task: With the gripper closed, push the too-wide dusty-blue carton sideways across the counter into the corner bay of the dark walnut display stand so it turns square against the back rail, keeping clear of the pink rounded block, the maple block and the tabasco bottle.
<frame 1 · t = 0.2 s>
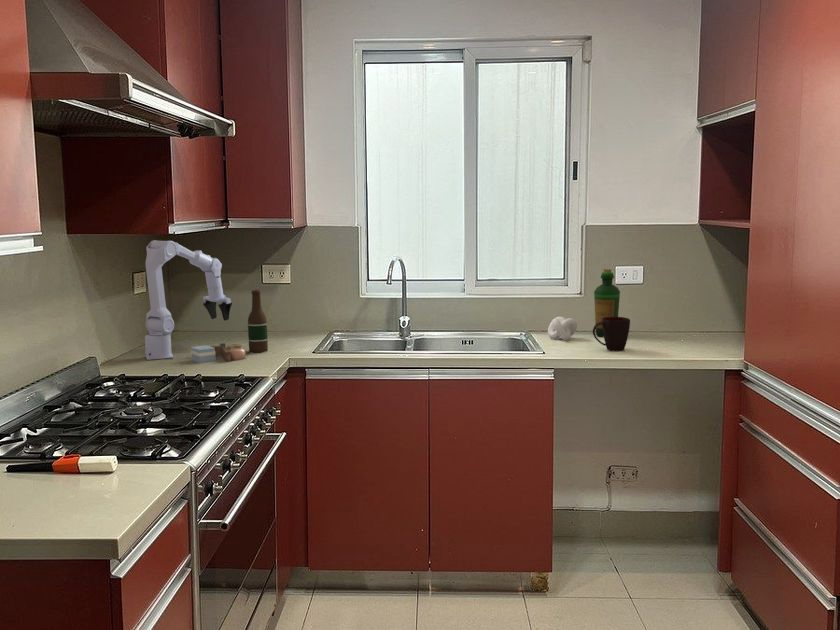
hand: (220, 319, 330), 11 cm above the countertop, tool pointing down, fingers open, 7 cm apart
beer bottle: (258, 351, 315), on the countertop
pink rounded block: (237, 359, 301), on the countertop
pretzel: (560, 339, 334), on the countertop
bottle: (606, 336, 339), on the countertop
display stand: (214, 358, 301), on the countertop
cup: (610, 350, 308), on the countertop
carton: (203, 360, 298), on the countertop
maple block: (234, 355, 307), on the countertop
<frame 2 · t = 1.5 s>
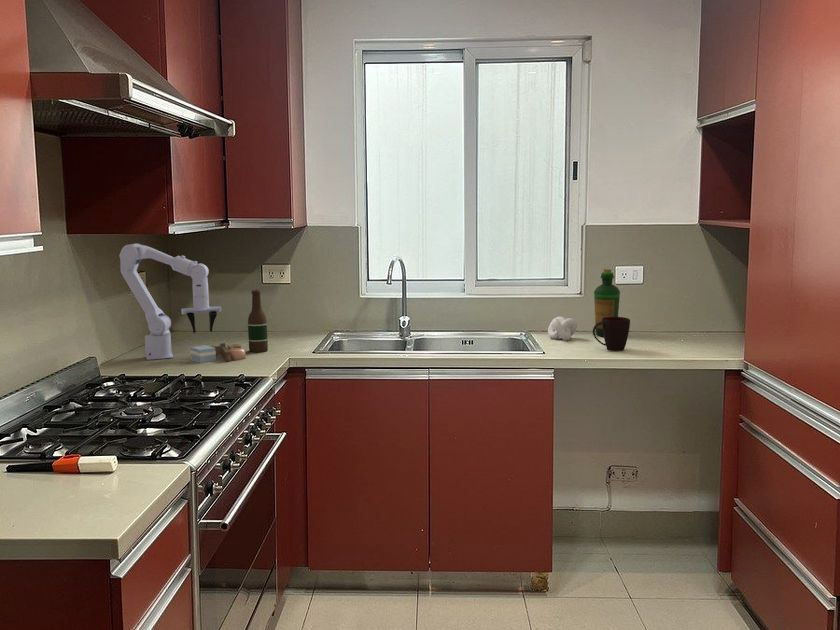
hand: (202, 331, 305), 9 cm above the countertop, tool pointing down, fingers open, 5 cm apart
nothing on the countertop moved.
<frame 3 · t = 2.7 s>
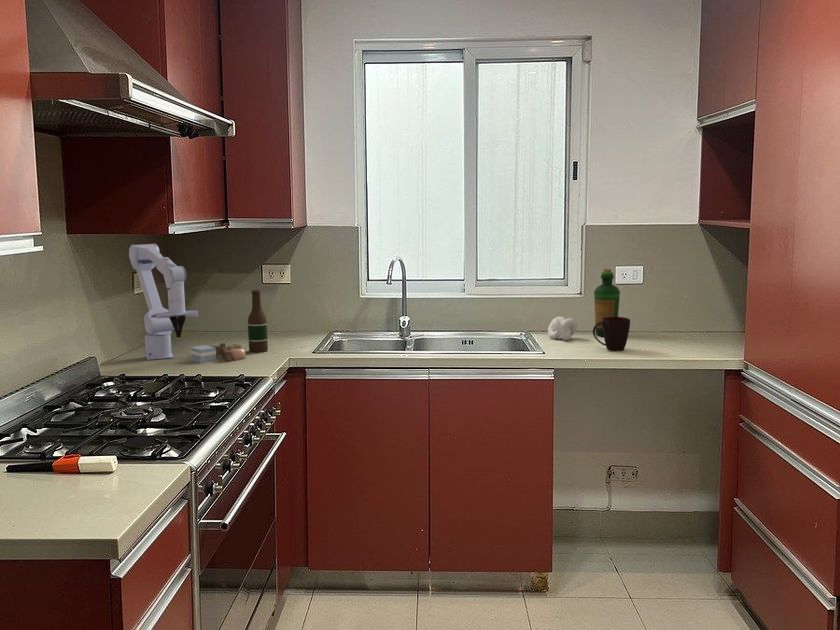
hand: (178, 337, 294), 9 cm above the countertop, tool pointing down, fingers closed
nothing on the countertop moved.
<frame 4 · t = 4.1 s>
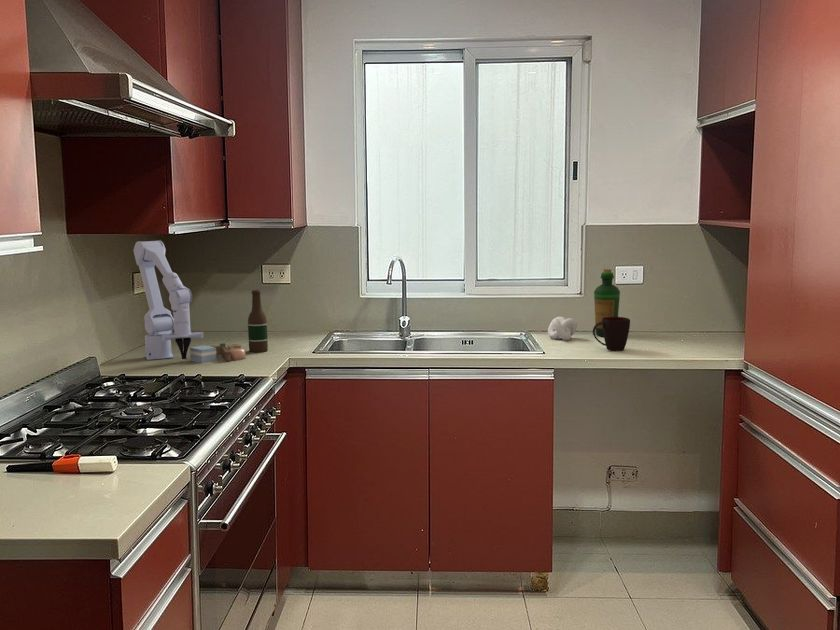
hand: (184, 358, 296), 1 cm above the countertop, tool pointing down, fingers closed
nothing on the countertop moved.
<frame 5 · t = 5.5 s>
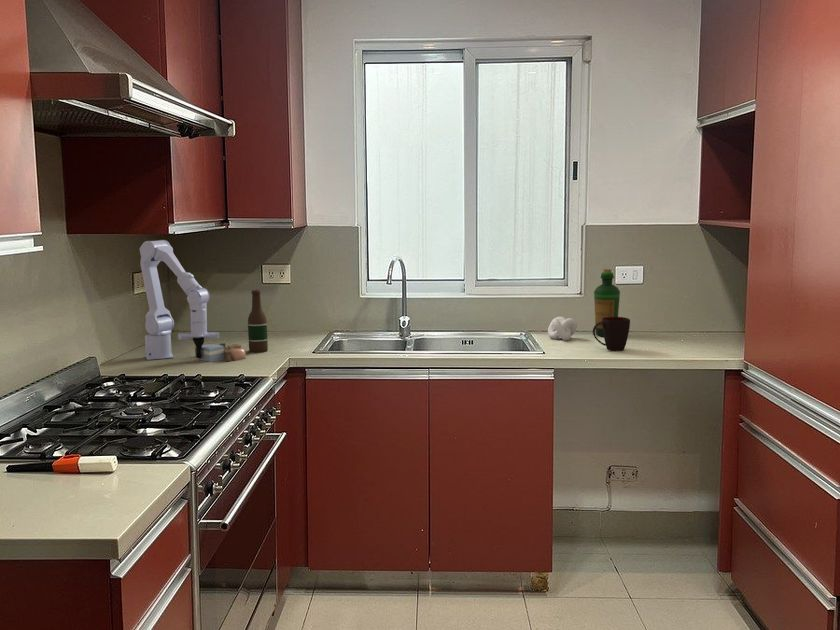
hand: (199, 357, 298), 1 cm above the countertop, tool pointing down, fingers closed, pressing on carton
carton: (211, 359, 300), on the countertop, touching display stand, gripper
everything else where it was.
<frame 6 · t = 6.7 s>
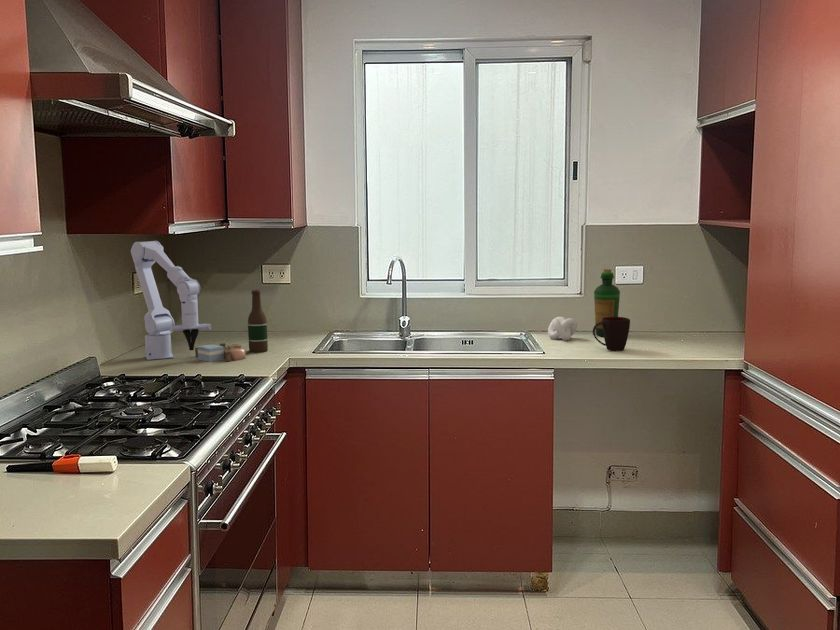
hand: (191, 349, 296), 4 cm above the countertop, tool pointing down, fingers closed
carton: (211, 359, 300), on the countertop
everything else where it was.
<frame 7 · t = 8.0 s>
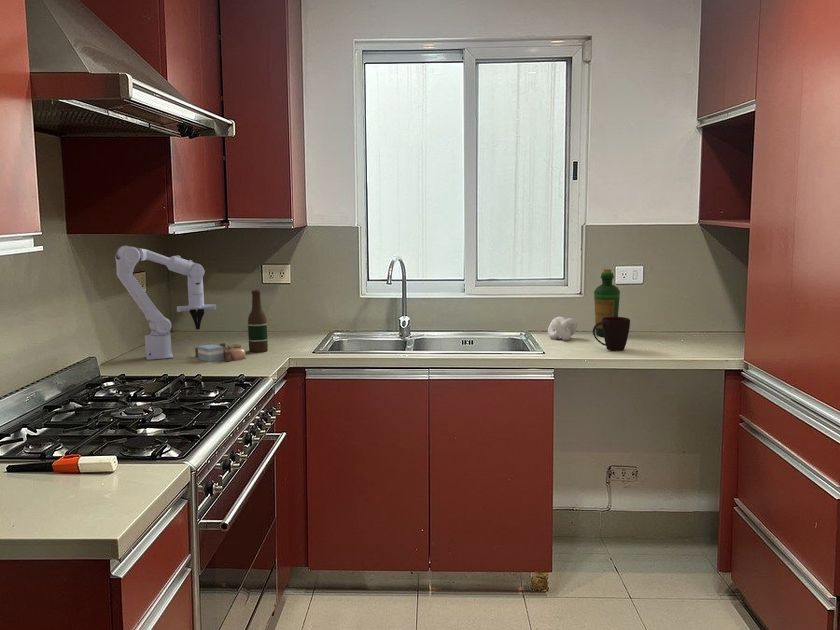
hand: (197, 329, 312), 9 cm above the countertop, tool pointing down, fingers closed
nothing on the countertop moved.
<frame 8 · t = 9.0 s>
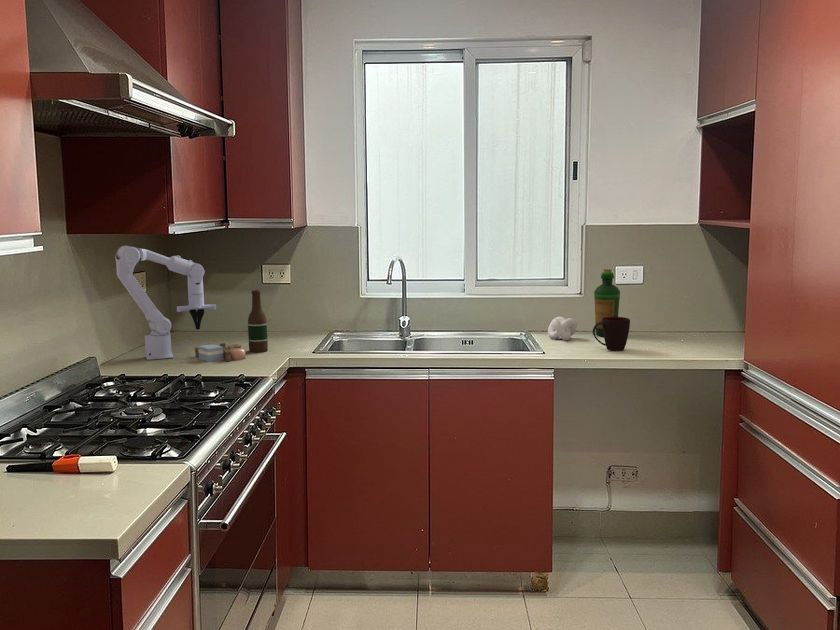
hand: (197, 329, 312), 9 cm above the countertop, tool pointing down, fingers closed
nothing on the countertop moved.
at the end: carton inside the target area (1.7 cm from its centre), on the countertop; carton tilted 0°; carton moved 3.0 cm from its start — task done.
